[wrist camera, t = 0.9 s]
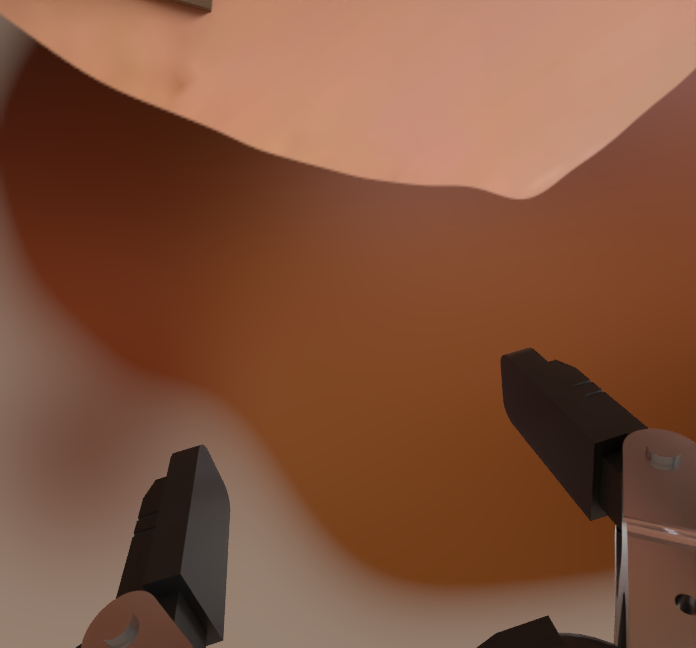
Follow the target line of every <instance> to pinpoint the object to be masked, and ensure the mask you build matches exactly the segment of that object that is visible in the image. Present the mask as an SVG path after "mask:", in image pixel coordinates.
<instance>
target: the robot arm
mask: <svg viewBox="0 0 696 648" xmlns="http://www.w3.org/2000/svg"><path fill="white" fill-rule="evenodd" d="M501 376H502V390H503V402H504V407H505V410H506V413H507V415H508V417H509V419H510V421H511V422H512V424H513V425H514V426H515V428H516V429H517V430H518V431H519V432H520V434H521V435H522V436H523V437H524V439H525V440H526V441H527V443H528V444H529V445H530V446H531V448H532V449H533V450H534V451H535V453H536V454H537V455H538V456H539V458H540V459H541V460H542V461H543V462H544V464H545V465H546V466H547V467H548V469H549V470H550V471H551V472H552V473H553V475H554V476H555V477H556V479H557V480H558V481H559V482H560V484H561V485H562V486H563V487H564V488H565V490H566V491H567V492H568V493H569V495H570V496H571V497H572V499H573V500H574V501H575V502H576V504H577V505H578V506H579V507H580V508H581V510H582V511H583V512H584V514H585V515H586V516H587V517H588V519H589V520H590V521H592V520H595V519H598V518H601V517H605V516H609V517H610V519H611V520H612V521H613V522H614V523H615V524H616V528H615V625H614V644H613V643H610V642H607V641H604V640H601V639H598V638H595V637H590V636H586V635H582V634H573V633H558V632H557V630H556V628H555V627H554V625H553V623H552V621H551V620H550V618H549V616H545V617H542V618H539V619H536V620H533V621H530V622H528V623H525V624H522V625H519V626H516V627H513V628H510V629H507V630H504V631H502V632H498V633H496V634H495V635H493V636H492V637H490V638H489V639H488V640H486V641H485V642H484V643H482V644H481V645H480V646H478V647H477V648H696V444H695V443H694V442H693V441H691V440H689V439H688V438H686V437H684V436H682V435H680V434H677V433H675V432H671V431H668V430H662V429H649V428H648V427H646V426H645V425H644V424H643V423H642V422H640V421H639V420H638V419H637V418H635V417H634V416H633V415H632V414H631V413H629V412H628V411H627V410H626V409H625V408H623V407H622V406H621V405H620V404H618V403H617V402H616V401H615V400H614V399H613V398H611V397H610V396H609V395H608V394H607V393H605V392H602V390H601V388H599V387H598V386H597V385H596V384H595V383H593V382H590V380H589V379H588V378H587V377H586V376H585V375H584V374H582V373H581V372H580V371H579V370H578V369H576V368H575V367H572V366H570V365H568V364H565V363H563V362H560V361H557V360H554V361H550V362H548V361H546V360H545V359H544V358H543V357H542V356H541V355H540V354H538V353H537V352H536V351H535V350H534V349H532V348H526V349H523V350H520V351H516V352H512V353H509V354H506V355H503V356H502V357H501ZM138 518H139V521H137V523H136V527H135V530H134V537H133V538H132V541H131V545H130V549H129V553H128V556H127V560H126V564H125V567H124V571H123V575H122V578H121V582H120V586H119V590H118V593H117V597H116V599H115V600H113V601H112V602H110V603H109V604H108V605H107V606H106V607H105V608H104V609H102V610H101V611H100V612H99V614H98V615H97V616H96V617H95V619H94V620H93V621H92V623H91V624H90V626H89V628H88V629H87V631H86V633H85V636H84V638H83V642H82V644H80V645H79V646H77V647H76V648H206V646H208V645H211V644H214V643H217V642H220V641H223V633H224V615H225V596H226V577H227V558H228V538H229V520H230V503H229V497H228V493H227V490H226V487H225V484H224V482H223V481H222V479H221V476H220V475H219V472H218V470H217V468H216V467H215V464H214V462H213V460H212V458H211V456H210V454H209V452H208V450H207V448H206V447H205V446H204V445H199V446H196V447H192V448H189V449H186V450H183V451H179V452H176V453H173V454H172V456H171V459H170V463H169V468H168V472H167V477H163V478H161V479H157V480H155V482H154V483H153V485H152V486H151V488H150V489H149V491H148V492H147V494H146V495H145V497H144V498H143V501H142V505H141V508H140V512H139V516H138Z"/></svg>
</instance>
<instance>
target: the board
mask: <svg viewBox="0 0 696 648" xmlns="http://www.w3.org/2000/svg"><path fill="white" fill-rule="evenodd" d="M172 1H175V2H179V3H182V4H186V5H189V6H193V7H196V8H200V9H203V10H207V11H210V12H211V10H212V0H172Z"/></svg>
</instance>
